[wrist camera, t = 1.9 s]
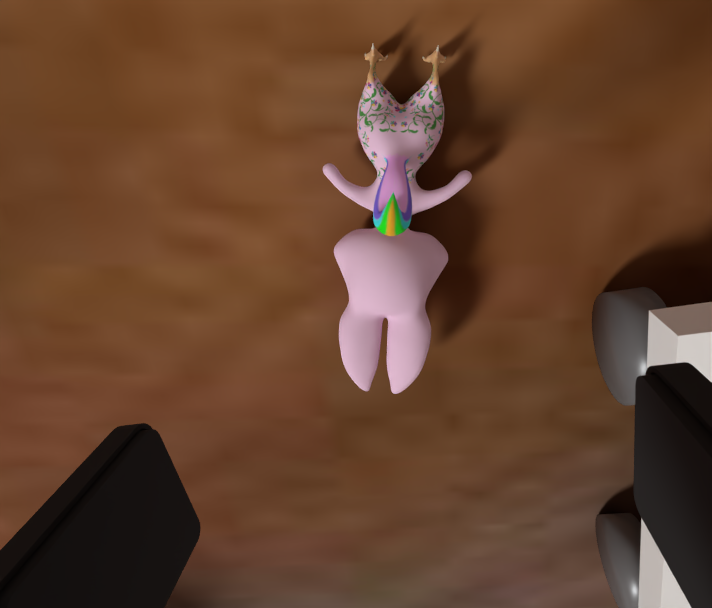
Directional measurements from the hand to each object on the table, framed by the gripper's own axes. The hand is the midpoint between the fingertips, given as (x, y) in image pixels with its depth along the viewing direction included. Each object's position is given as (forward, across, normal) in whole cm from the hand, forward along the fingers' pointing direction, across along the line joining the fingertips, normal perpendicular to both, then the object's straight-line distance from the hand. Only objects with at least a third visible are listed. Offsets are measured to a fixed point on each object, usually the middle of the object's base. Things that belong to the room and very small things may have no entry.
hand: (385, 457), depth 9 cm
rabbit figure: (+15, 0, -1) cm, 15 cm away
